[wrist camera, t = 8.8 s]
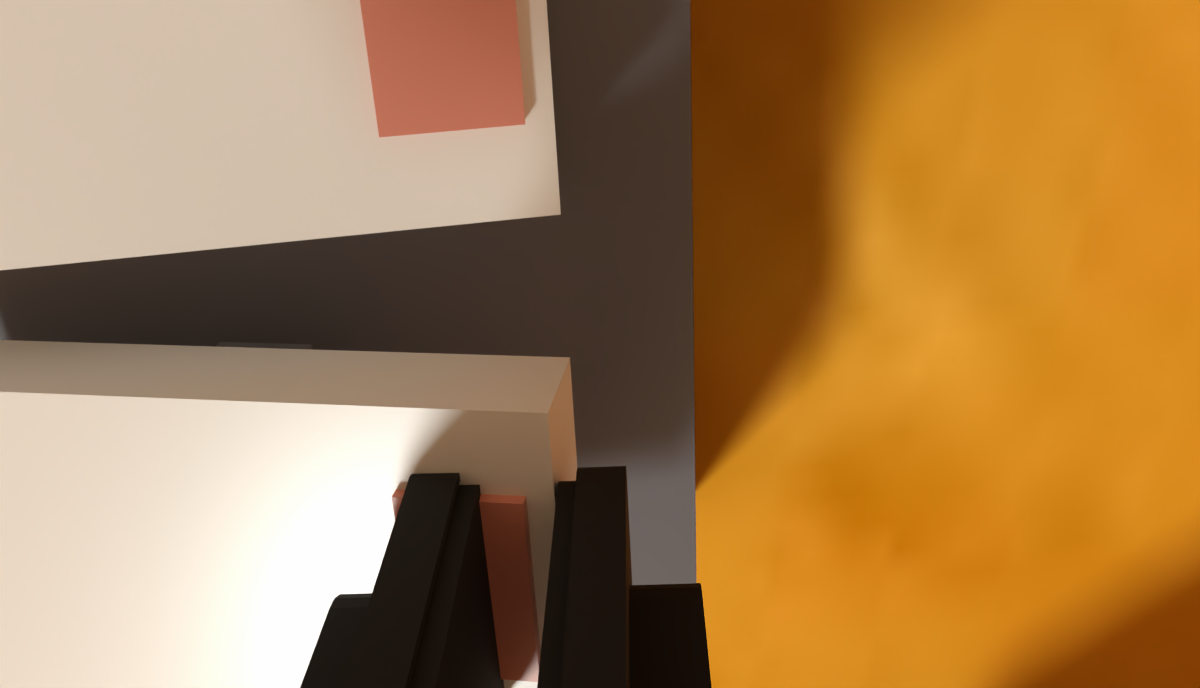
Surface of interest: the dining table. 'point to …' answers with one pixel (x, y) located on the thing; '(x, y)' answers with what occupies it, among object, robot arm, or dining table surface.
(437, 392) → the block
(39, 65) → the middle rocker
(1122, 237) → the dining table surface
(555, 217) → the rocker switch box
